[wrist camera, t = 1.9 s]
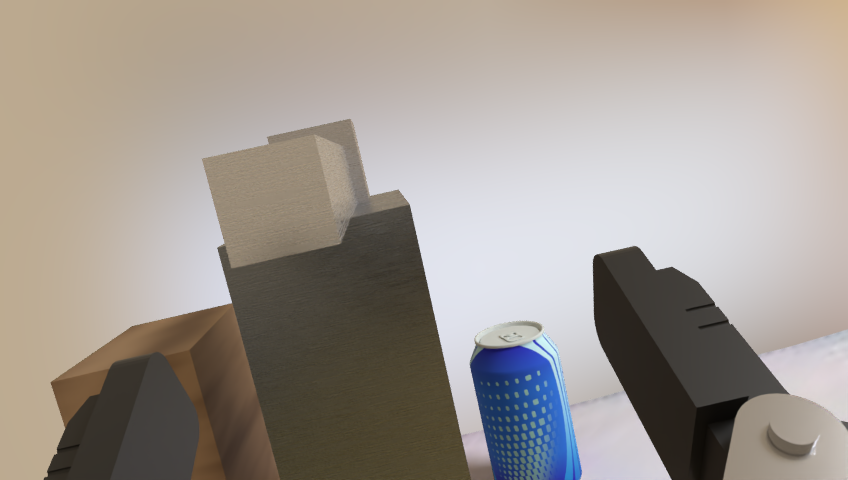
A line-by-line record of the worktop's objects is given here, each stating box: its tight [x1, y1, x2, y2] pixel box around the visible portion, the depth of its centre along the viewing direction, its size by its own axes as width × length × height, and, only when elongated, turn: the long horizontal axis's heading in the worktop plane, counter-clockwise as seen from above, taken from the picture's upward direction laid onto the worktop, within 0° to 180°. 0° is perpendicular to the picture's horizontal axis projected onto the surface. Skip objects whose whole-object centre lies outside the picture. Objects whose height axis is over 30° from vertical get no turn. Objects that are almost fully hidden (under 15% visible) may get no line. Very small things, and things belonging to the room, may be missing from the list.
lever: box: [202, 119, 370, 268], centre depth 31 cm, size 5×23×5 cm, turn 4°
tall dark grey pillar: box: [217, 190, 471, 480], centre depth 38 cm, size 10×16×32 cm, turn 4°
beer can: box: [470, 321, 582, 480], centre depth 59 cm, size 8×8×16 cm
